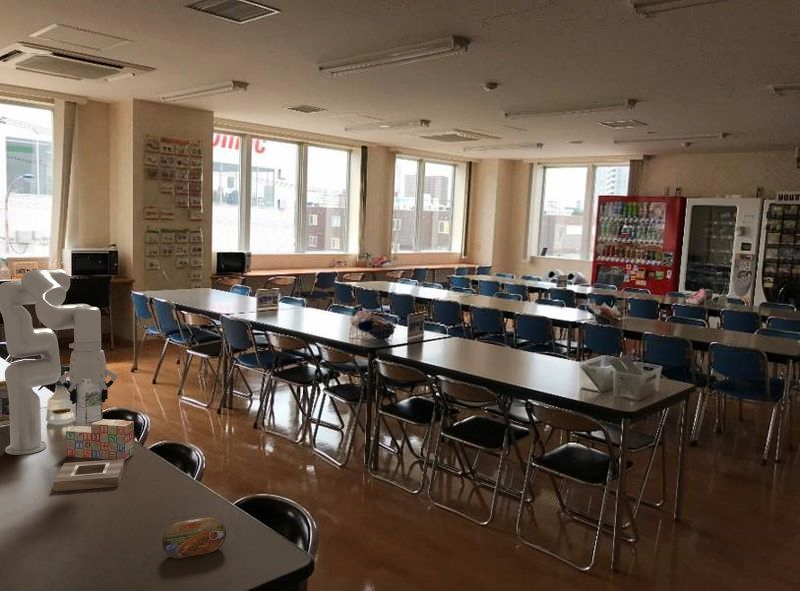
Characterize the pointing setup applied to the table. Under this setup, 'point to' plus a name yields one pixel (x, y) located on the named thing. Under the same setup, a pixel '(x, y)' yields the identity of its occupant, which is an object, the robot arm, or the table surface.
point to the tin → (193, 537)
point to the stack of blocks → (102, 440)
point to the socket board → (89, 475)
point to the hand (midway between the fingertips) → (89, 401)
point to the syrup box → (88, 402)
